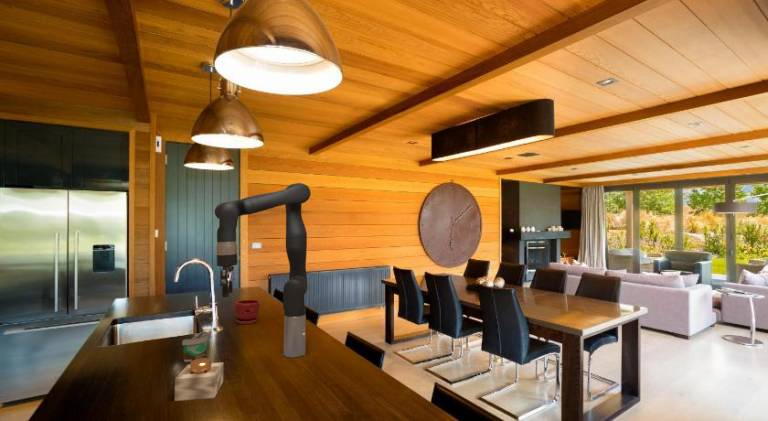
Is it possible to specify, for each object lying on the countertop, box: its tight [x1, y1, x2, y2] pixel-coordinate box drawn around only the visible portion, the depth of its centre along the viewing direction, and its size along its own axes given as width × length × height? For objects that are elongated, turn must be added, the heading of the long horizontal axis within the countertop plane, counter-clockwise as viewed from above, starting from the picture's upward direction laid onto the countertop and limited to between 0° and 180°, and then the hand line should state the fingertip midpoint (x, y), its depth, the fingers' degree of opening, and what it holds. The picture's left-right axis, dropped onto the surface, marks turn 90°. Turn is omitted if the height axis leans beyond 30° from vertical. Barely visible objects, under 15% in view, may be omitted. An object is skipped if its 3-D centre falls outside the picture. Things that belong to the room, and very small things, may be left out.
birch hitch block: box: [174, 362, 224, 402], centre depth 124 cm, size 12×12×7 cm
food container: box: [181, 331, 210, 365], centre depth 152 cm, size 12×6×10 cm, turn 168°
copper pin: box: [189, 357, 212, 374], centre depth 124 cm, size 6×6×10 cm
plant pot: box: [234, 299, 261, 325], centre depth 208 cm, size 13×13×12 cm
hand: (227, 294), depth 141 cm, fingers open, 8 cm apart
